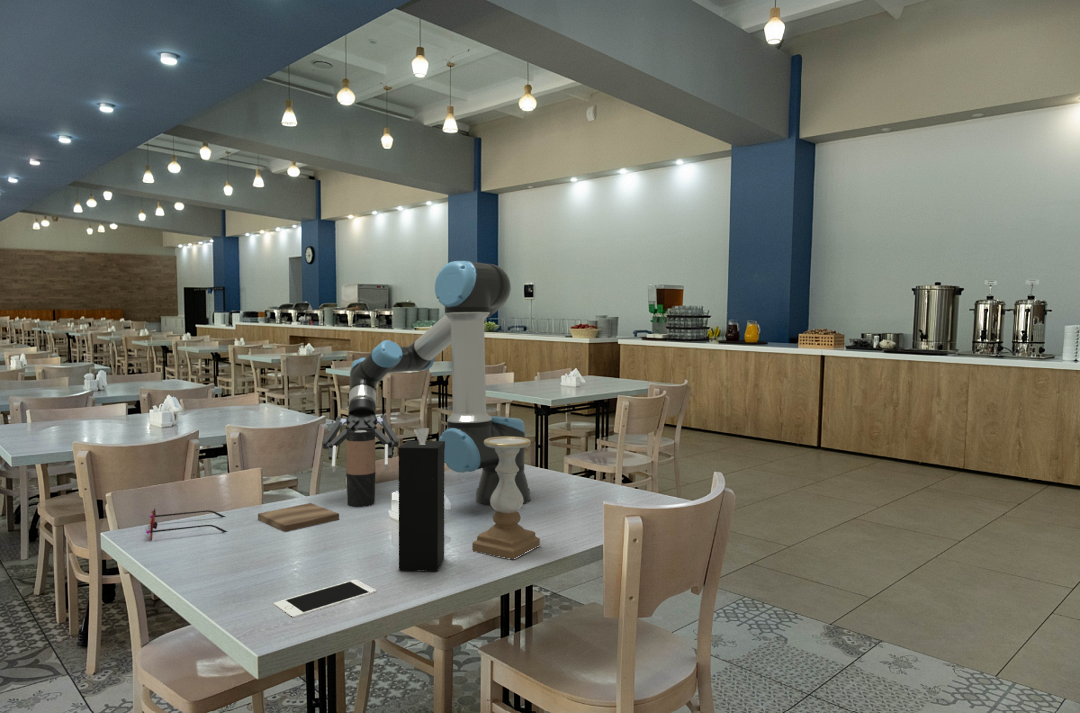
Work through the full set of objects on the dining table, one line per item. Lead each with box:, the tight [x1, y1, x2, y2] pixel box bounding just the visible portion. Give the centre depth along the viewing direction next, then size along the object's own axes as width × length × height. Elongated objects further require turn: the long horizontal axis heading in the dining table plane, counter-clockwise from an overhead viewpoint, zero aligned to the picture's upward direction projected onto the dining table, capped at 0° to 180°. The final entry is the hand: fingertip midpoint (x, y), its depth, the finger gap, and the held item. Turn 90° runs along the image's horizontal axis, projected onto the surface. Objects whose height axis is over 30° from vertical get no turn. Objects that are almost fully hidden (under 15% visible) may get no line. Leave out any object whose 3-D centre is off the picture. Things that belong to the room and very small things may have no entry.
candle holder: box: [471, 436, 541, 559], centre depth 149 cm, size 11×11×24 cm
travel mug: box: [345, 428, 377, 508], centre depth 185 cm, size 8×8×20 cm
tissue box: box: [397, 427, 445, 572], centre depth 139 cm, size 8×8×28 cm
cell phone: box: [273, 579, 377, 618], centre depth 123 cm, size 8×16×1 cm, turn 134°
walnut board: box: [257, 502, 340, 533], centre depth 170 cm, size 14×14×2 cm
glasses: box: [145, 508, 228, 541], centre depth 162 cm, size 14×16×5 cm
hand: (360, 468), depth 183 cm, fingers open, 13 cm apart
